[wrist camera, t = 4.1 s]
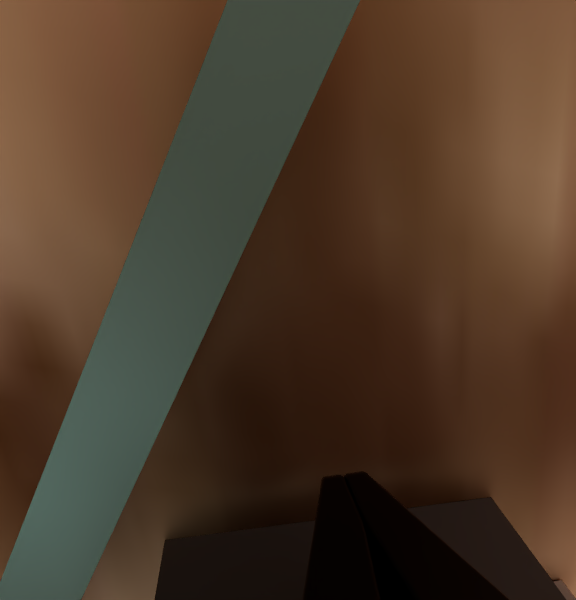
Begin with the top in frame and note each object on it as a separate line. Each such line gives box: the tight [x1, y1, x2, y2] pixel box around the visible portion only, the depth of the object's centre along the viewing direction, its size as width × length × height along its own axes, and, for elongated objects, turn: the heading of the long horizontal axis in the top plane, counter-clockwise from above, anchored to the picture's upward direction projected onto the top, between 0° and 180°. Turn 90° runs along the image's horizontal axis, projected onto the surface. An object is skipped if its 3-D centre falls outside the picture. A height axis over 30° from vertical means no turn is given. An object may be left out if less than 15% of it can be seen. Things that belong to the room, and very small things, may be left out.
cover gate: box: [0, 0, 360, 600], centre depth 6 cm, size 1×13×4 cm, turn 153°
